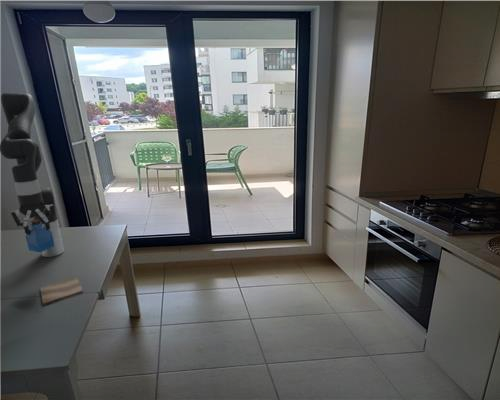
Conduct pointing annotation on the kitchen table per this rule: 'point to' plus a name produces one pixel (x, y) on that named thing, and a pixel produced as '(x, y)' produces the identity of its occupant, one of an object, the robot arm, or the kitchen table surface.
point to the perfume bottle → (39, 237)
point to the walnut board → (60, 290)
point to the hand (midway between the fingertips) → (38, 232)
